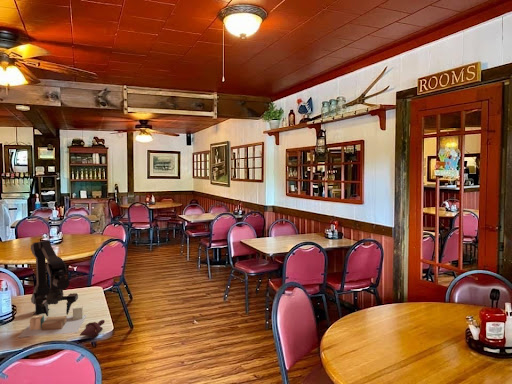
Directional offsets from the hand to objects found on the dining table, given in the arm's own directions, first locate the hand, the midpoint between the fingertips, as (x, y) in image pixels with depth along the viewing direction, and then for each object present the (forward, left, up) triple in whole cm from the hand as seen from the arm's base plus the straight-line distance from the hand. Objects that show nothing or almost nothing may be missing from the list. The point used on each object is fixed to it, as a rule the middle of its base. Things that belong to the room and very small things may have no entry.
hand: (57, 315), depth 193 cm
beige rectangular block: (-9, +7, -5) cm, 13 cm away
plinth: (0, -2, -6) cm, 6 cm away
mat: (-1, -2, -6) cm, 6 cm away
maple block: (0, -7, -3) cm, 7 cm away
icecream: (+15, +20, -6) cm, 25 cm away
